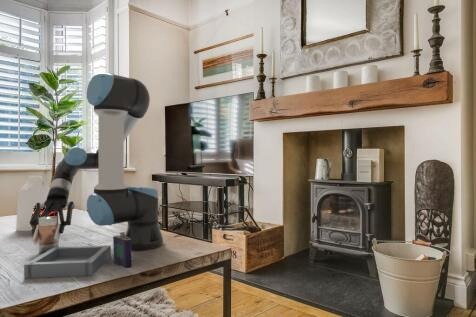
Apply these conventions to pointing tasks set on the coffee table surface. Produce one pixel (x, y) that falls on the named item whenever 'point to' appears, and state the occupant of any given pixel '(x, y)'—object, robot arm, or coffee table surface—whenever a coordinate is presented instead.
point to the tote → (68, 262)
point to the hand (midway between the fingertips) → (45, 241)
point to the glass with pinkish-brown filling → (47, 233)
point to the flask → (122, 250)
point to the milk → (30, 201)
